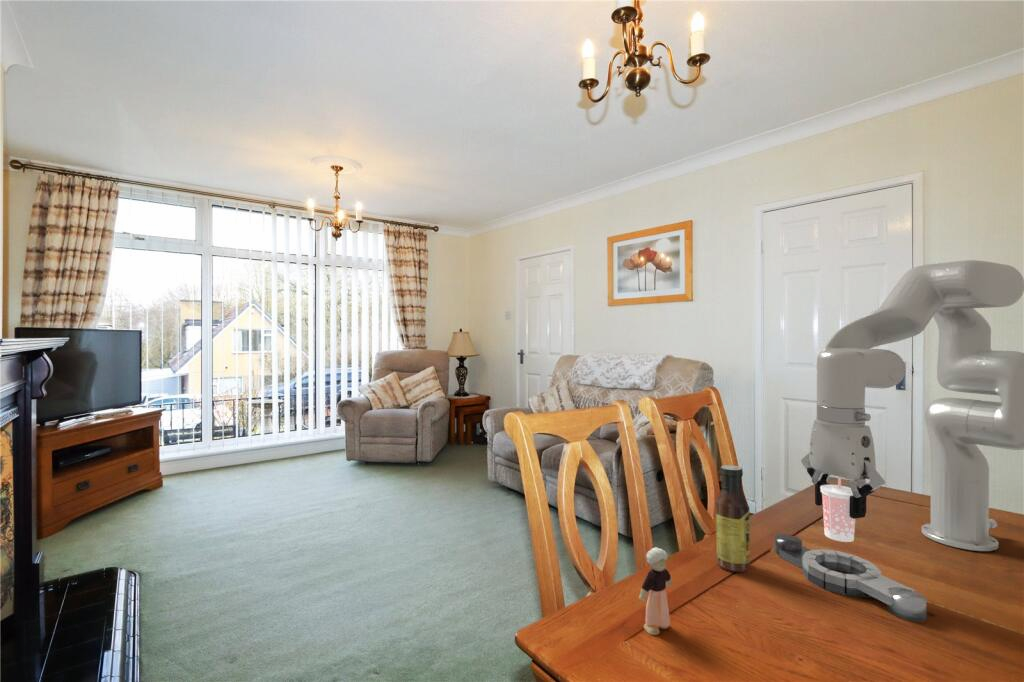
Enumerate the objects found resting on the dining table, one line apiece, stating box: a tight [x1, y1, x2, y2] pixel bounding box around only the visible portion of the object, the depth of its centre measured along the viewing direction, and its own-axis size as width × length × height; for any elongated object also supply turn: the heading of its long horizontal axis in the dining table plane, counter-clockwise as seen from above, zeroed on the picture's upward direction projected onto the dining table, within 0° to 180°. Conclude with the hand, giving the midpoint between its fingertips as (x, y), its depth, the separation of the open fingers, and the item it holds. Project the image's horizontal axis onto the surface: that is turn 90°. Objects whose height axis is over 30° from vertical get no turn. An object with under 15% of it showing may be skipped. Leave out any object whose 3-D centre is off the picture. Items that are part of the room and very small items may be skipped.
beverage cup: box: [820, 477, 856, 543], centre depth 91 cm, size 6×6×14 cm
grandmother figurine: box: [638, 546, 673, 636], centre depth 77 cm, size 8×4×13 cm, turn 137°
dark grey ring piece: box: [774, 533, 872, 598], centre depth 95 cm, size 12×20×3 cm, turn 18°
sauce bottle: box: [715, 464, 751, 573], centre depth 97 cm, size 7×6×20 cm
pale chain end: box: [802, 548, 927, 623], centre depth 87 cm, size 12×20×3 cm, turn 18°
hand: (839, 509), depth 91 cm, fingers closed on beverage cup, 6 cm apart
